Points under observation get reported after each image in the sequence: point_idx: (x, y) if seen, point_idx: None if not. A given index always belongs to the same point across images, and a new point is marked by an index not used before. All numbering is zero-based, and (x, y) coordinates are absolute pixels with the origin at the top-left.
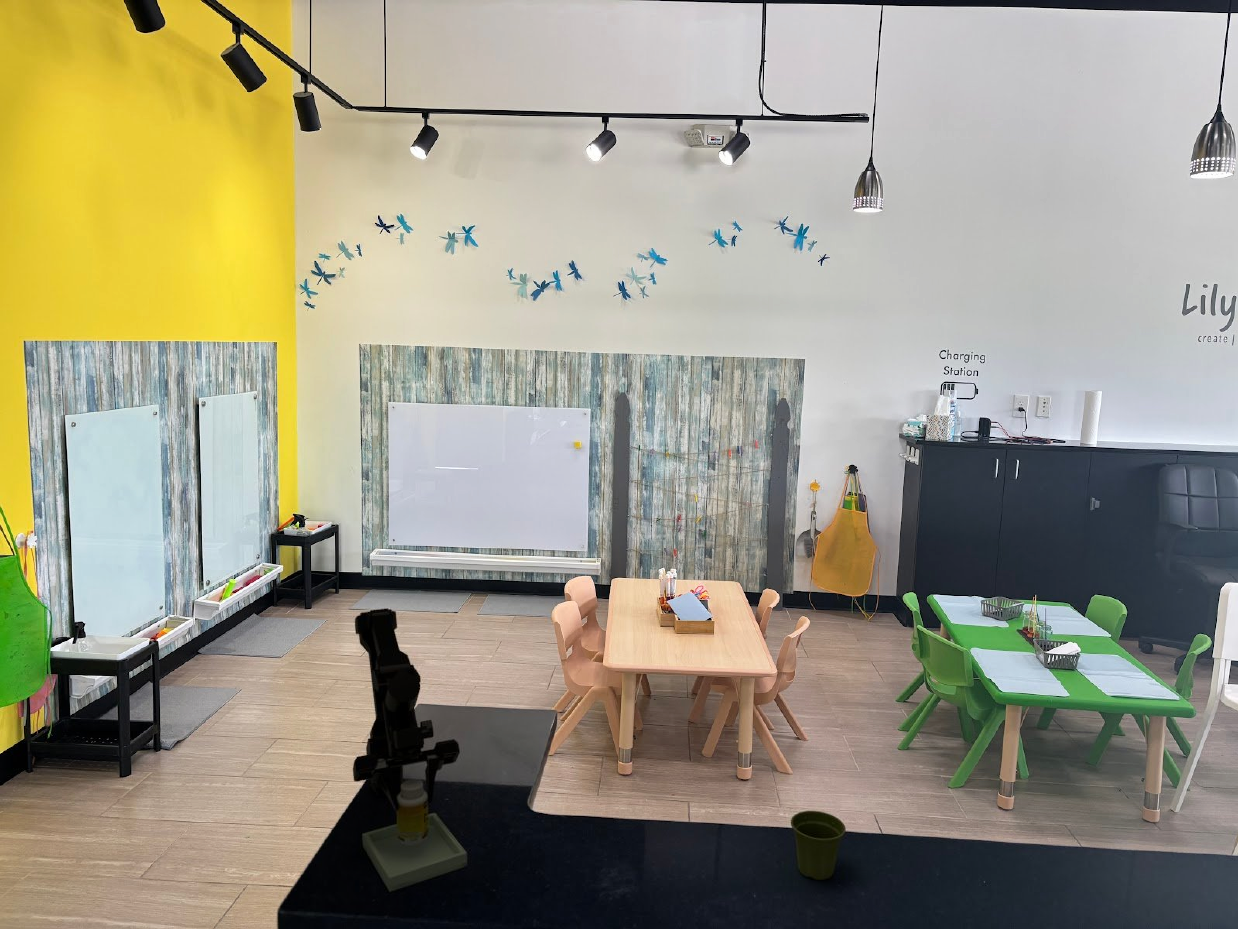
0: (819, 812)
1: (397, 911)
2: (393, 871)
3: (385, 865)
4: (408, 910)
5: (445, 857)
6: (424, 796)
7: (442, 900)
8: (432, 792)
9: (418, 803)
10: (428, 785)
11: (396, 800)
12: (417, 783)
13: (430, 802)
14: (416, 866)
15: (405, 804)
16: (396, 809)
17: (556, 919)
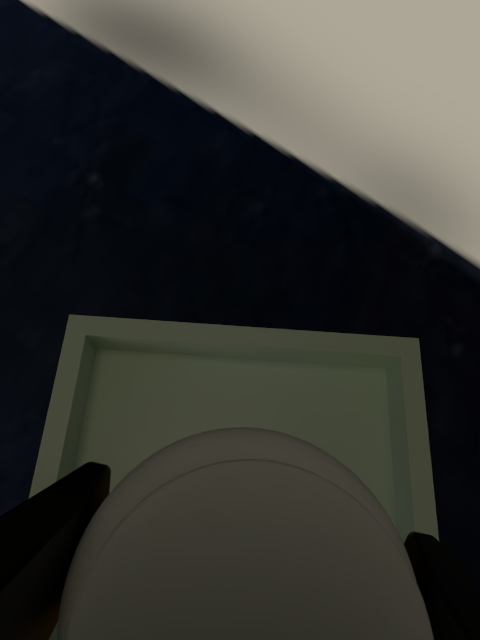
0: None
1: (397, 251)
2: (361, 446)
3: (413, 439)
4: (364, 237)
5: (160, 337)
6: (143, 479)
7: (253, 221)
8: (28, 500)
9: (238, 429)
10: (11, 579)
11: (450, 594)
12: (163, 623)
13: (102, 466)
14: (265, 423)
15: (361, 483)
16: (427, 535)
17: (44, 13)
